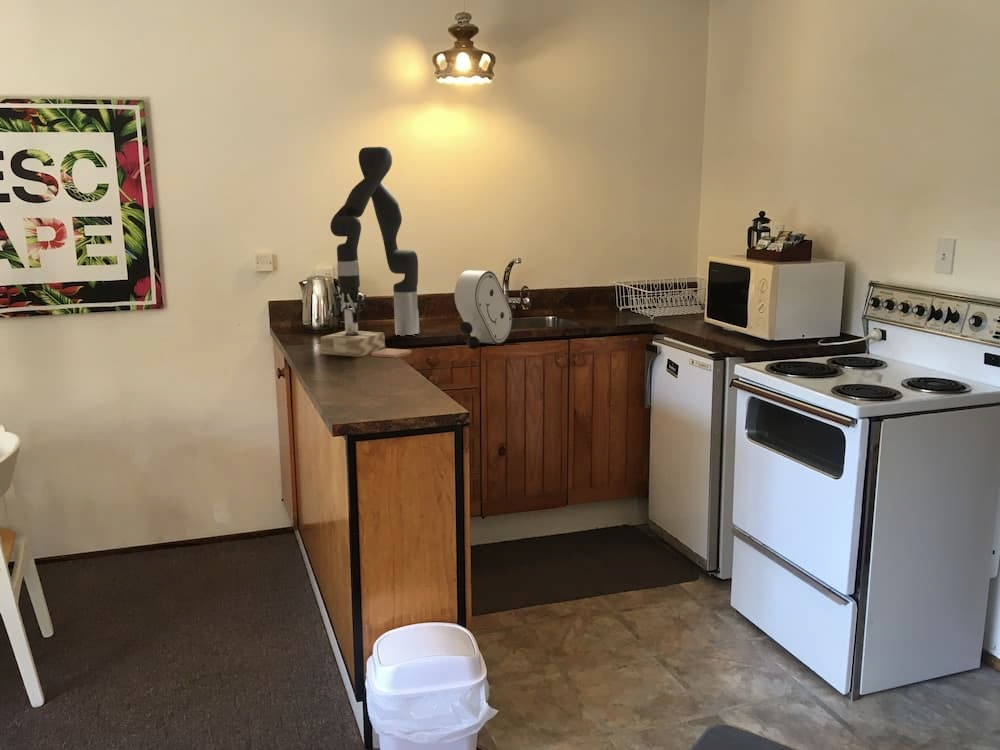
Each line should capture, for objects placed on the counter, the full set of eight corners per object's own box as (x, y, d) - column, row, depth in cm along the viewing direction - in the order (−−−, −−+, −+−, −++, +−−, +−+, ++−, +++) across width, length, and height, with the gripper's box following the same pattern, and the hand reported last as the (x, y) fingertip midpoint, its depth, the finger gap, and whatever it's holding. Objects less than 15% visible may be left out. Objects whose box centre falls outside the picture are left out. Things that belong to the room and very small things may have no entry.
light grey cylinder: (352, 338, 311) (350, 307, 309) (361, 339, 308) (359, 308, 306) (343, 340, 307) (341, 309, 305) (352, 341, 305) (350, 310, 303)
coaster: (387, 351, 308) (387, 348, 308) (411, 352, 304) (411, 350, 304) (371, 355, 300) (371, 353, 299) (396, 357, 295) (395, 354, 295)
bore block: (348, 346, 319) (347, 330, 318) (385, 349, 312) (384, 332, 311) (321, 353, 305) (320, 336, 304) (359, 356, 298) (358, 339, 297)
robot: (460, 309, 294) (489, 261, 306) (439, 308, 298) (469, 261, 311) (490, 368, 314) (516, 321, 327) (470, 366, 318) (497, 319, 331)
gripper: (370, 273, 302) (373, 322, 306) (341, 272, 310) (344, 319, 314) (355, 275, 296) (358, 325, 300) (326, 274, 304) (329, 322, 308)
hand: (351, 322), depth 307 cm, fingers closed on light grey cylinder, 4 cm apart
